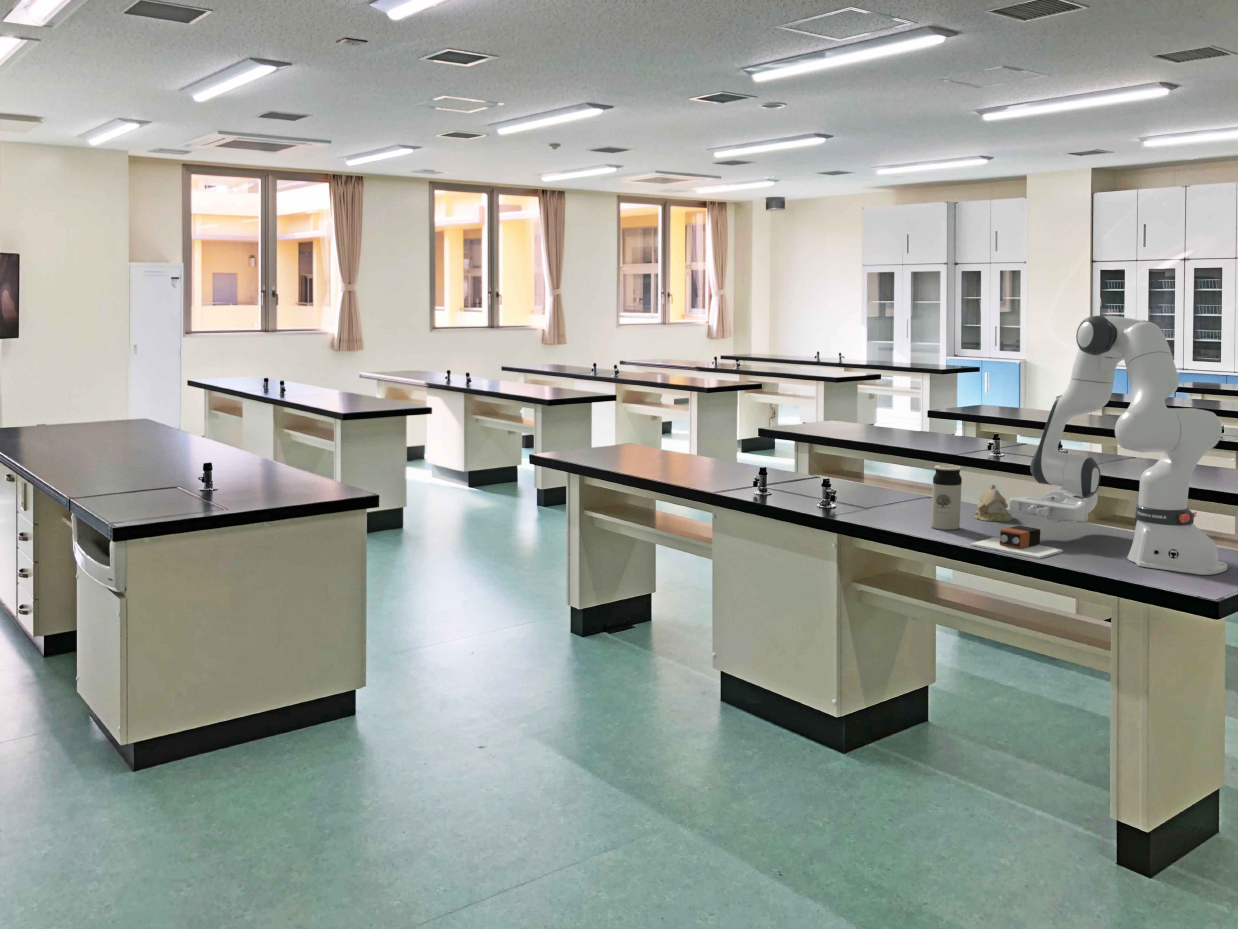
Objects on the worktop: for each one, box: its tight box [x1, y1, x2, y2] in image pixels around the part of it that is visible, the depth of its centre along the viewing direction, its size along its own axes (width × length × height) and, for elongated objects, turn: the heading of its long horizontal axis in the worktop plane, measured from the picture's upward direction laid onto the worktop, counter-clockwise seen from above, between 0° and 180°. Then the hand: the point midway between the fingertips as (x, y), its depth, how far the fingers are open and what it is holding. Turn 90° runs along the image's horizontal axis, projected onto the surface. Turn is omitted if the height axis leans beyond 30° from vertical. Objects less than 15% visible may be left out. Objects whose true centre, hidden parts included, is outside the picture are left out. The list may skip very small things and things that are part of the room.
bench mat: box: [969, 536, 1064, 560], centre depth 293 cm, size 20×12×1 cm, turn 40°
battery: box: [999, 525, 1041, 549], centre depth 294 cm, size 4×7×10 cm
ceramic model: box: [974, 484, 1013, 522], centre depth 336 cm, size 14×11×10 cm
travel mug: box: [930, 464, 963, 531], centre depth 319 cm, size 8×8×18 cm
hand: (1032, 512), depth 297 cm, fingers closed
